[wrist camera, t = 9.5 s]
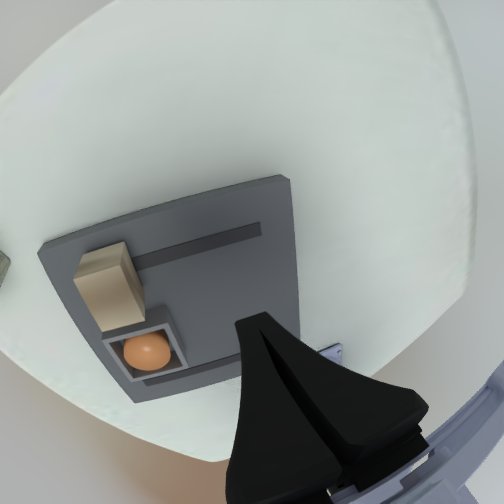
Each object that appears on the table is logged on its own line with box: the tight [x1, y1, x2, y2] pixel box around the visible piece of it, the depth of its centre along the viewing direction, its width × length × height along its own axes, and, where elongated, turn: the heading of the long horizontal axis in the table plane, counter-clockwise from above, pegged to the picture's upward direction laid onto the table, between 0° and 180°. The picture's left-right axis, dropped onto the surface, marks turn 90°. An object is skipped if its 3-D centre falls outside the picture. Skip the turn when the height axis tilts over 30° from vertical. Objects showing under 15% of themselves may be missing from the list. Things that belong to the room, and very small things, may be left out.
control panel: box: [37, 175, 300, 403], centre depth 21 cm, size 18×18×4 cm
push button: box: [124, 329, 171, 371], centre depth 20 cm, size 4×4×2 cm
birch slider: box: [73, 242, 145, 332], centre depth 16 cm, size 4×3×3 cm
